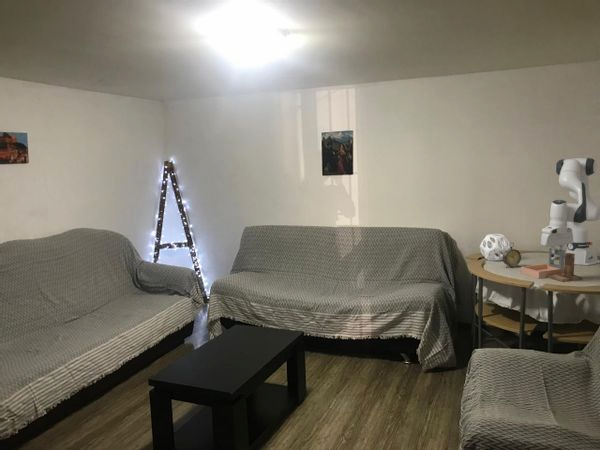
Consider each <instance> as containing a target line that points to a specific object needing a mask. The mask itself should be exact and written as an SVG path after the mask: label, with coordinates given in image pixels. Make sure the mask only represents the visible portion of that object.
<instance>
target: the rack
mask: <svg viewBox="0 0 600 450" xmlns="http://www.w3.org/2000/svg"><path fill="white" fill-rule="evenodd" d="M564 259H565V262H564V273H562V274H555V275H548V277H547V278H548V279H550V280H551V279H552V280H555V281H557V282H561V283H565V282H571V281H572V280H573V281H577V280H578V281H580V280H582V276H581V275H577V274H575V264H574V260H575V254H573V253H566V252H565V258H564ZM551 260H552V261H553V260H554V261H559V256H554V257H552V258H551Z"/></svg>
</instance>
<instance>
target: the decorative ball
mask: <svg viewBox="0 0 600 450" xmlns="http://www.w3.org/2000/svg"><path fill="white" fill-rule="evenodd" d="M493 239H494V240H495V241H493ZM509 244H510V246H509ZM511 247H512V245H511V242H510V241H509V239H508V237H506V236H505V235H504V234H502V233H488V234H486V235H485V237H484V238H483V239H482V241H481V243H480V245H479V250H480V253H481V254H482V256H483V257H484V258H485V259H486V260H487V261H492V262H493V261H494V262H499V261H503V259H502V256H503V253H504V252H505V251H506V250H507V249H511ZM501 252H502V253H501ZM496 254H497V255H496Z"/></svg>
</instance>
